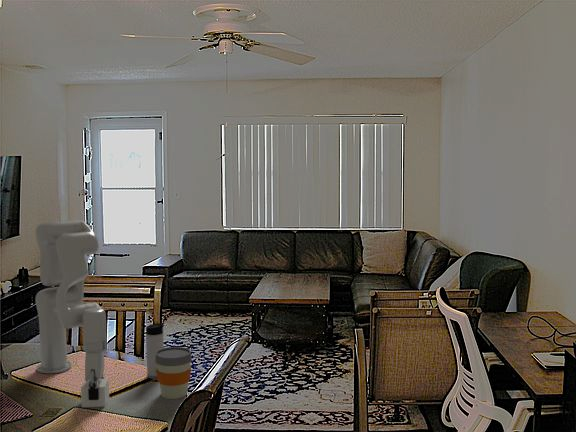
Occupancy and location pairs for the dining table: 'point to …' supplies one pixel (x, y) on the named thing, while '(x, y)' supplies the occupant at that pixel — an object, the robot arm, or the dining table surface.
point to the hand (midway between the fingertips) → (96, 393)
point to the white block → (103, 394)
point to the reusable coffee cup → (173, 371)
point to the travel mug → (153, 347)
